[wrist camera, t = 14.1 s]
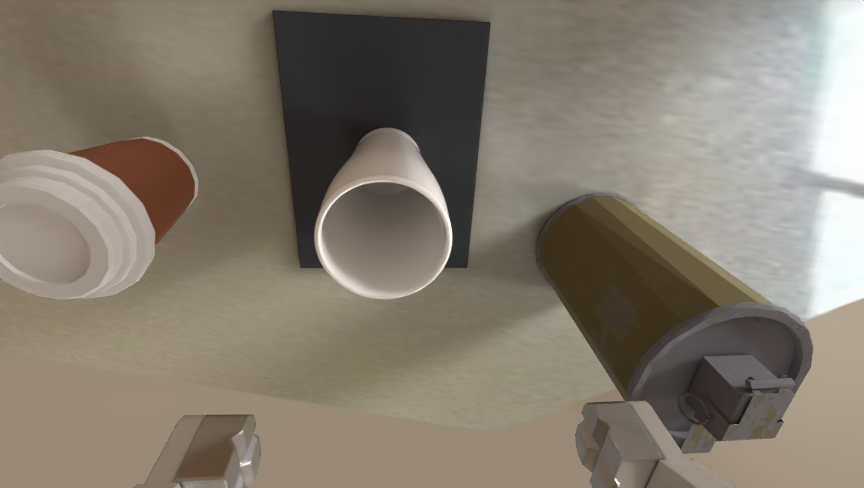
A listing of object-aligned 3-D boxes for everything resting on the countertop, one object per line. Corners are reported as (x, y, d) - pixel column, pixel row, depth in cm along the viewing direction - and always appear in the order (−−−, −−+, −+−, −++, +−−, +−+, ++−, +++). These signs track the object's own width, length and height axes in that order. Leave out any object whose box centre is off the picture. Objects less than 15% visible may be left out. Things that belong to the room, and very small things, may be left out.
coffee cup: (176, 101, 30) (58, 137, 20) (237, 211, 35) (167, 290, 24) (63, 139, 31) (-111, 193, 20) (137, 243, 35) (24, 334, 24)
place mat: (274, 10, 28) (272, 10, 28) (489, 22, 30) (490, 22, 29) (301, 265, 37) (300, 268, 37) (466, 265, 39) (467, 267, 38)
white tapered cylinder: (408, 101, 31) (420, 149, 18) (443, 179, 34) (474, 271, 21) (329, 138, 32) (283, 211, 19) (369, 212, 35) (354, 320, 22)
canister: (544, 191, 36) (693, 344, 18) (658, 191, 37) (905, 336, 19) (527, 296, 41) (632, 498, 23) (629, 294, 42) (804, 487, 24)
